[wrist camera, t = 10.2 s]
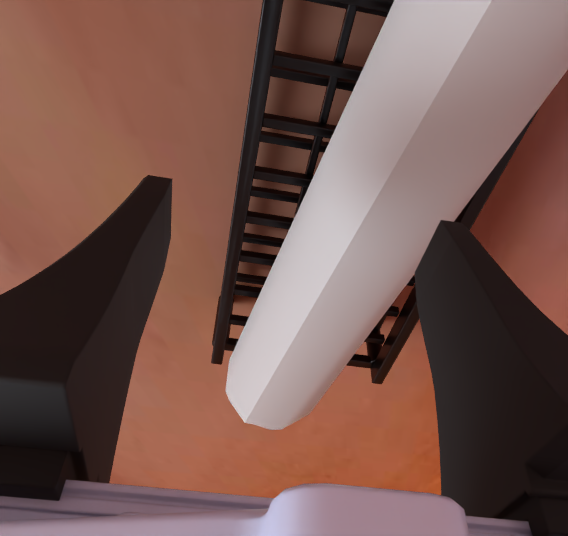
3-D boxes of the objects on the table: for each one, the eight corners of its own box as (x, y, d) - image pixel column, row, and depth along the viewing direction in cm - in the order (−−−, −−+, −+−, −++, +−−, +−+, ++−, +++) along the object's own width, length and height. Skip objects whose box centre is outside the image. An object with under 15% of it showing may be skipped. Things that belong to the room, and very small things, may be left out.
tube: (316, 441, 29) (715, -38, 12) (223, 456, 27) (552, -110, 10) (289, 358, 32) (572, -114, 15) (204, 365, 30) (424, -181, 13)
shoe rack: (569, -76, 18) (626, -36, 15) (375, 323, 33) (383, 385, 30) (280, -142, 17) (275, -115, 14) (218, 302, 32) (209, 363, 29)
